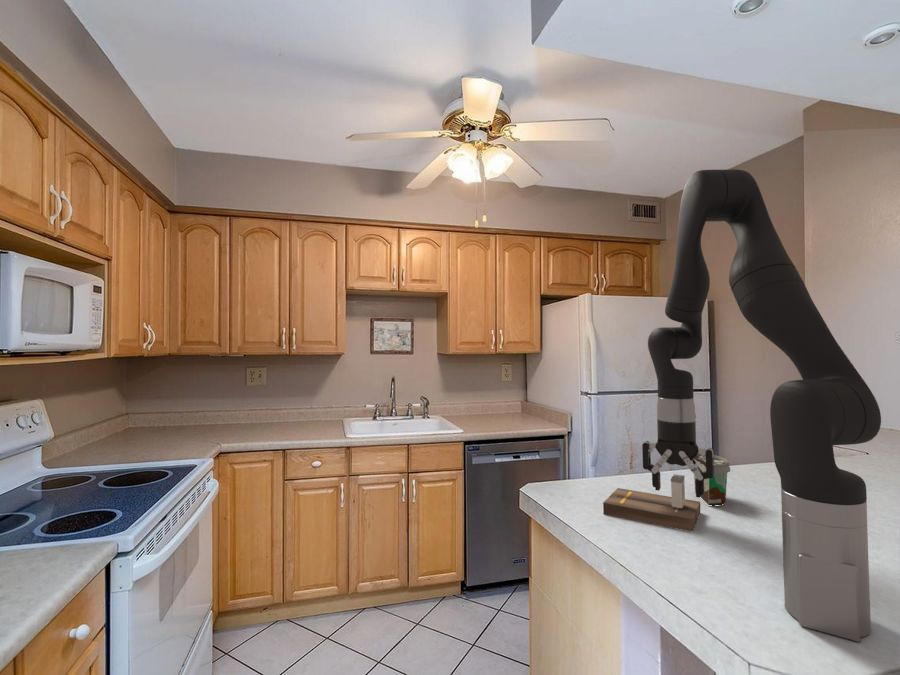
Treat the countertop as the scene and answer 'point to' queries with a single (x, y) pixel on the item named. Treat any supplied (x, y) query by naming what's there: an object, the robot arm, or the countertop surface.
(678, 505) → the fader tab
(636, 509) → the fader console
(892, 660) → the countertop surface
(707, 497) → the food container
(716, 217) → the robot arm
